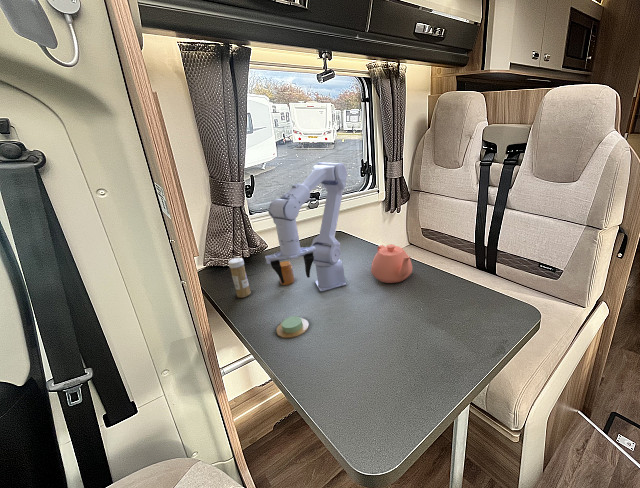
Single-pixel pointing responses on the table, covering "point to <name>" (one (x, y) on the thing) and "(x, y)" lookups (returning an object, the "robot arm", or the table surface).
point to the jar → (287, 273)
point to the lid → (292, 324)
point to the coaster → (295, 334)
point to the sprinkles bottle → (239, 277)
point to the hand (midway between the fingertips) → (295, 279)
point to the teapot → (391, 264)
